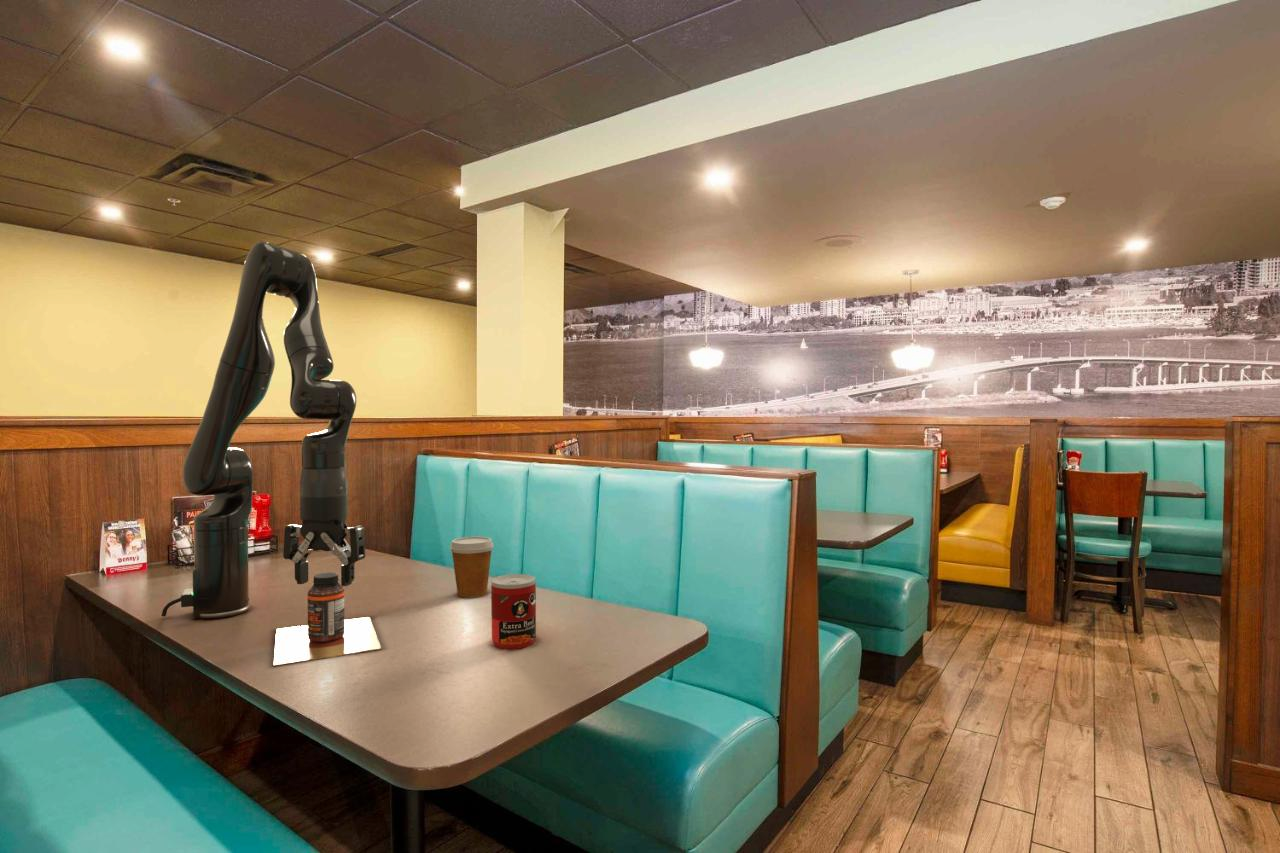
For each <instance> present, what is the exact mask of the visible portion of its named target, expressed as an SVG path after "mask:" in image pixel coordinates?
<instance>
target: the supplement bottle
mask: <svg viewBox="0 0 1280 853" xmlns="http://www.w3.org/2000/svg"><path fill="white" fill-rule="evenodd" d="M339 581H340V579H339V573H337V572H332V571H331V572H329V571H328V572H321V573H316V574H314V575H313V582H312V583H313V585H312V587H310V588H309V589H308V591H307V625H308V639H309V640H310V641H312V642H319V643H323V642H330V641H334V640H337V639H339V638H341V637H342V636H343V635H344V630H345V629H344V628H345V625H344V624H345V621H344V620H346V619H345V586H342V585H341V583H339Z"/></svg>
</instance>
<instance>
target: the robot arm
mask: <svg viewBox="0 0 1280 853" xmlns="http://www.w3.org/2000/svg"><path fill="white" fill-rule="evenodd" d="M315 272H316V271H315V269H314V266H313V263H312V261H311V259H310V258H309V257H308V256H306V255H305V254H303V253H301V252H298V251H295V250H292V249H289V248H285V247H283V246H280V245H277V244H274V243H271V242H268V241H263V240H262V241H261V240H260V241H257V242H256V243H254V244H253V245H252V246H251V247H250V249H249V250H248V253H247V254H246V258H245V261H244V264H243V268H242V273H241V278H240V282H239V288H238V293H237V298H236V303H235V308H234V312H233V316H232V320H231V324H230V328H229V331H228V334H227V338H226V340H225V344H224V345H223V346H224V347H223V349H222V352H221V356H220V359H219V362H218V365H217V368H216V371H215V375H214V380H213V384H212V388H211V391H210V394H209V397H208V400H207V403H206V407H205V409H204V413H203V415H202V417H201V418H202V419H201V421H200V423H199V426H198V428H197V431H196V433H195V435H194V438H193V440H192V442H191V445H190V446H189V449H188V451H187V453H186V456H185V459H184V462H183V466H182V472H181V474H182V483H183V485H184V487H185V488H184V489H186V490H187V492H189V493H190V494H191V495H194V496H198V497H206V496H207V497H208V496H213V498H212V501H211V502H210V504H209V505H208V506H207V507H205V509H203V510H202V511H200V512H198V513H197V514H196V515H195V516H194V518H193V558H194V559H193V560H194V562H193V563H194V565H193V566H194V567H193V570H192V588H184V590H183V592H182V593H181V595H180V597H178V598H175V599H173V600H171V601H169V602H167V603H166V604H165V605H164V607H163V609H162V612H161V617H166V616H167V613H168V610H169V609H170V607H171V606H173V605H175V604H178V603H180V608H188V607H193V608H192V609H193V610H192V619H194V620H197V619H205V620H206V619H208V620H209V619H219V618H220V619H222V618H228V617H234V616H237V615H240V614H243V613H245V612H247V611H249V610H250V597H249V596H250V592H249V589H250V588H249V583H250V582H249V525H248V524H249V523H248V522H249V517H250V514H251V511H252V507H253V491H254V490H253V487H254V469H253V463H252V460H251V457H250V456H249V454H248V453H247V452H246V451H244V449H241V448H238V447H230V444H231V442H232V439H233V436H234V435H235V433H236V431H237V430H238V429H239V427H240V426H241V425H242V424H243V423H244V422H245V420H246V419H247V418H248V417H249V416H250V415H251V414H252V413H253V412H254V411H255V410H256V408H258V406H259V405H260V404H261V402H262V401H263V399H264V398H265V397H266V395H267V392H268V390H269V387H270V385H271V384H270V383H271V381H272V378H273V374H274V371H275V366H276V358H275V354H274V350H273V346H272V344H271V341H270V338H269V336H268V333H267V330H266V327H265V323H264V305H265V304H264V303H265V298H266V295H267V294H271V295H275V296H279V297H283V298H288V299H290V300H291V302H292V304H293V307H294V310H295V311H294V313H293V315H292V316H291V318H290V319H289V320H288V323H287V325H286V327H285V329H284V331H283V346H284V350H285V353H286V357H287V360H288V363H289V366H290V375H291V384H290V394H289V395H290V396H289V406H290V409H291V411H292V412H293V413H294V414H295V416H297V417H298V418H300V419H301V420H307V421H310V420H311V421H312V420H313V421H314V420H315V421H316V420H317V421H318V420H319V421H320V420H321V421H322V420H326V421H327V420H329V422H328V425H327V426H326V428H325V429H324V430H322V431H319V432H314V433H310V434H307V435H305V436H304V437H303V438H302V441H301V472H300V480H299V495H300V496H299V503H300V504H299V512H300V513H299V514H300V515H299V516H300V517H299V518H300V520H301V521H302V523H301V525H300V524H299V523H293V524H292V523H291V524H288V525H286V526H285V527H284V531H283V533H284V534H283V554H282V557H283V559H284V560H290V561H292V562H293V564H294V580H295V581H296V584H297V585H304V584H307V583H309V561H308V558H309V557H310V556H311V554H312V553H313V552H317V551H323V552H332V554H333V555H334V556H335V557H337V558H338V560H339V561H340V563H341V564H342V565H340V575H341V576H340V577H341V578H340V585H342V586H343V587H348V586H350V585H352V583H353V582H354V581H355V564H356V563H357V562H358V561H359V562H360V561H361V560H364V559H366V544H365V527H364V526H363V525H357V526H352V527H351V526H350V527H348V525H347V518H348V475H347V454H346V453H347V452H346V451H347V450H346V448H347V446H346V445H347V440H348V437H349V431H350V428H351V424H352V421H353V418H354V414H355V411H356V407H357V394H356V391H355V388H354V387H353V386H352V385H351V384H350V383H349V382H348V381H345V380H339V379H338V380H337V379H335V380H334V379H325V378H327V377H329V376H331V374H332V373H333V371H334V367H335V365H334V360H333V357H332V354H331V351H330V348H329V344H328V343H327V339H326V336H325V333H324V329H323V325H322V318H321V311H320V302H319V301H320V300H319V293H318V285H317V277H316V273H315ZM301 536H302V538H303V540H302V542H301V544H300V537H301ZM346 536H347V539H348V540H349V542H348V541H347V539H346Z"/></svg>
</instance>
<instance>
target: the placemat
mask: <svg viewBox="0 0 1280 853" xmlns="http://www.w3.org/2000/svg"><path fill="white" fill-rule="evenodd" d="M344 621H345V624H344V625H345V628H344V629H345V630H344V635H343V636H342V637H341V638H339V639H337V640H334V641H330V642H323V643H319V642H312V641H310V640H309V639H308V624H307V625H306V624H305V625H301V626H300V625H297V626H291V627H290V626H289V627H283V628H277V629H276V633H275V642H274V643H275V644H274V655H273V656H274V657H273V667H277V666H284V665H289V664H290V665H291V664H296V663H303V662H308V661H309V662H310V661H317V660H321V659H322V660H323V659H330V658H335V657H341V656H349V655H354V654H362V653H366V652H374V651H379V650H382V646H381V644H380V641H379V638H378V636H377V634H376V631H375V628H374V625H373V622H372V620H371V617H370V616H366V617H359V618H357V617H356V618H351V619H344Z"/></svg>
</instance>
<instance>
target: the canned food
mask: <svg viewBox="0 0 1280 853" xmlns="http://www.w3.org/2000/svg"><path fill="white" fill-rule="evenodd" d="M536 585H537V582H536V577H535V576H533V575H530V574H526V573H511V574H502V575H499V576H495V577H494V578H492V579H491V583H490V598H491V599H490V602H491V603H490V604H491V605H490V606H491V608H490V609H491V610H490V612H491V615H490V616H491V641H492V644H493V645H494V646H495V647H496V648H499V649H502V650H503V649H505V650H516V649H522V648H526V647H529V646H532V644H533V643H534V642H535V641H536V637H537V588H536V587H537V586H536Z"/></svg>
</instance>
